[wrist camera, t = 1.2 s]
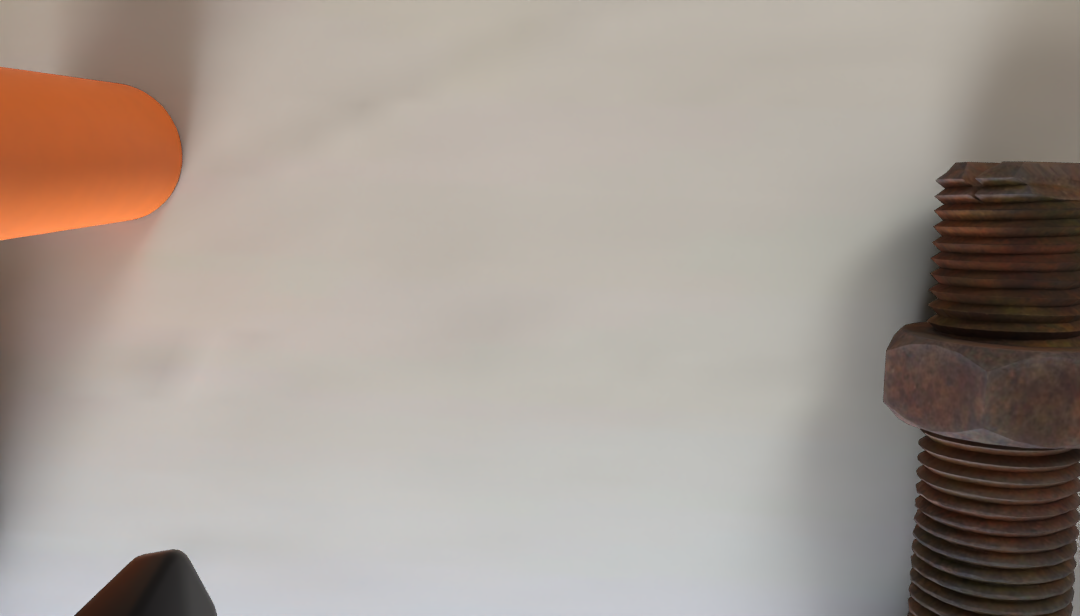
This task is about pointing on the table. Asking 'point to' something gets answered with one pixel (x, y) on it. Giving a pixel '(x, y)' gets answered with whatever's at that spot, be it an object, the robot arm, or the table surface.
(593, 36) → the table surface
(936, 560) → the bolt
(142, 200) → the screwdriver
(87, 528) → the table surface
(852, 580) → the table surface
